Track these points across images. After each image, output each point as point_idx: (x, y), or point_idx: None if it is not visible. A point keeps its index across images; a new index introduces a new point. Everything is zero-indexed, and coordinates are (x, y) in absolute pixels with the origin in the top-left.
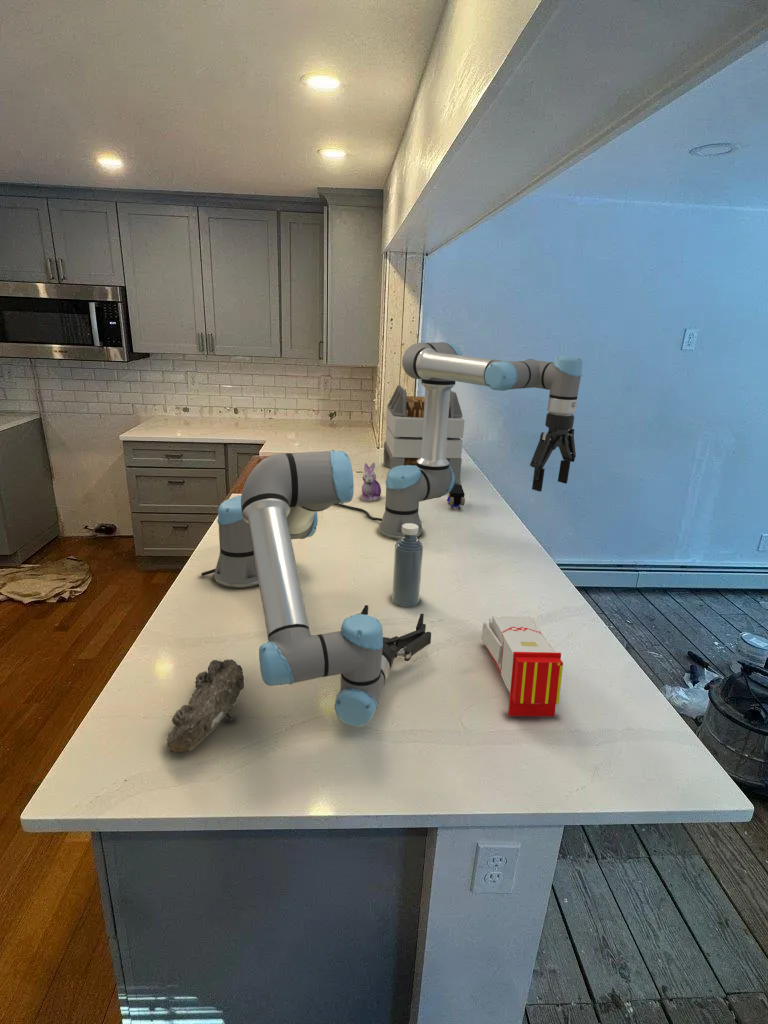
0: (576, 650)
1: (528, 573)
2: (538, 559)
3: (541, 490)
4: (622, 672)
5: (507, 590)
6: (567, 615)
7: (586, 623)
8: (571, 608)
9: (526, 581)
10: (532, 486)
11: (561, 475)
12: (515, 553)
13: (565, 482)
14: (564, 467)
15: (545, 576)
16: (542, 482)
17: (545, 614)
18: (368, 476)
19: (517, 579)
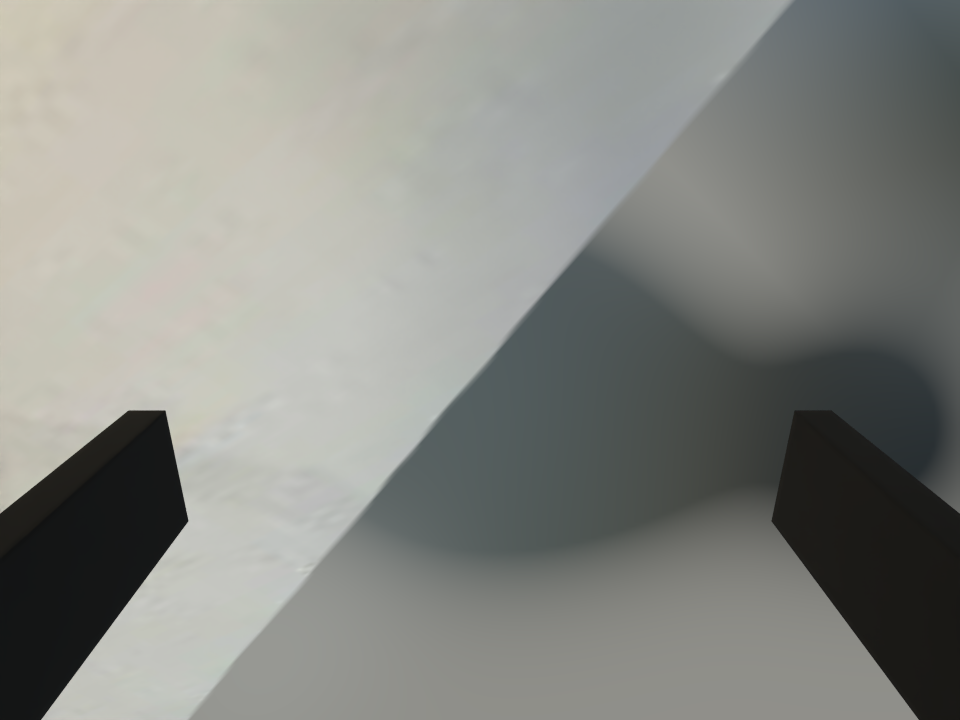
0: (126, 608)
1: (441, 218)
2: (628, 151)
3: (182, 526)
4: (155, 707)
5: (219, 261)
6: (271, 503)
7: (282, 560)
8: (326, 488)
9: (363, 262)
10: (105, 433)
11: (840, 511)
12: (603, 12)
13: (778, 526)
14: (939, 651)
15: (479, 287)
16: (115, 608)
17: (207, 457)
18: None
19: (343, 224)
